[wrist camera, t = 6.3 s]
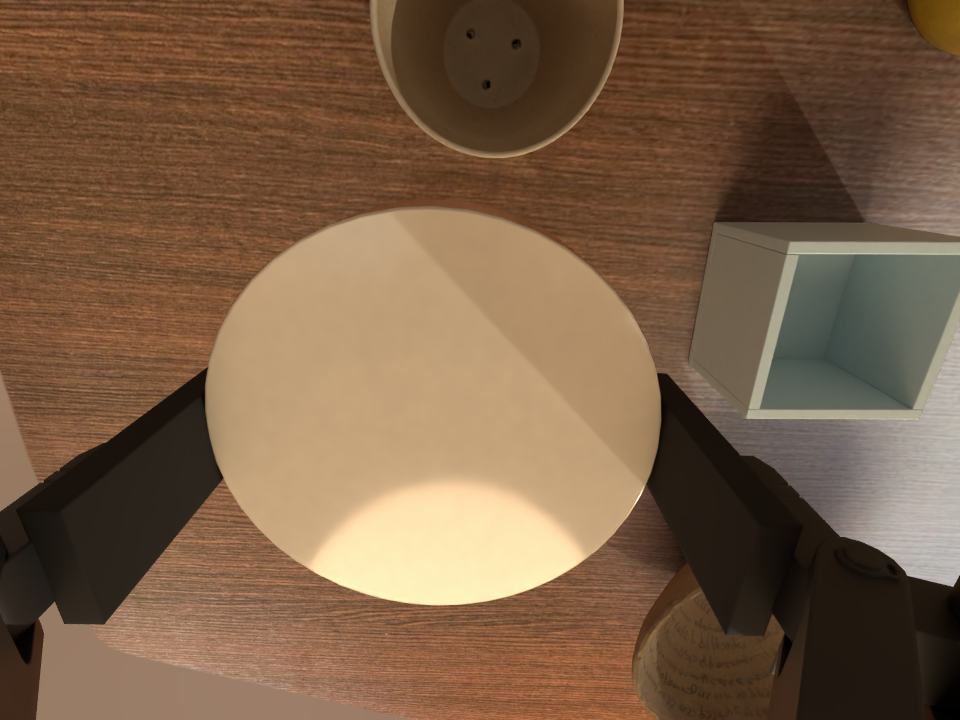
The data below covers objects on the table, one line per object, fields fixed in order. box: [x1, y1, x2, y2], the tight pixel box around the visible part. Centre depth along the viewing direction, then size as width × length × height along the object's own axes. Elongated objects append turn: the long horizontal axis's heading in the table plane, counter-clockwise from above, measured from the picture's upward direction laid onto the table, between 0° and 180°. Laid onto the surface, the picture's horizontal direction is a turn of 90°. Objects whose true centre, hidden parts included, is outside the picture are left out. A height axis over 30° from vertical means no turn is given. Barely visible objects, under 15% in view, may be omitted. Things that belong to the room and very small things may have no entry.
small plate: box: [205, 199, 661, 605], centre depth 14 cm, size 12×12×2 cm
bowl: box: [632, 563, 784, 720], centre depth 35 cm, size 18×18×8 cm
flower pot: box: [370, 0, 624, 158], centre depth 22 cm, size 10×10×7 cm
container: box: [688, 222, 960, 419], centre depth 27 cm, size 9×9×8 cm
